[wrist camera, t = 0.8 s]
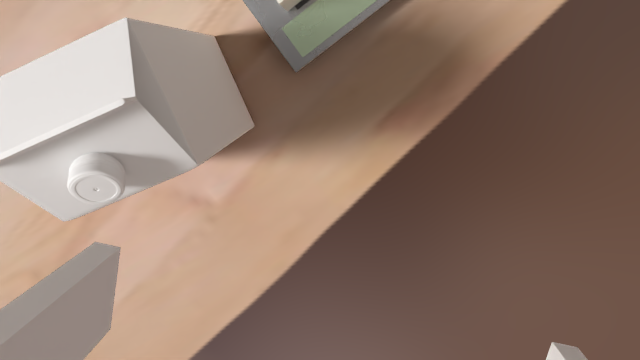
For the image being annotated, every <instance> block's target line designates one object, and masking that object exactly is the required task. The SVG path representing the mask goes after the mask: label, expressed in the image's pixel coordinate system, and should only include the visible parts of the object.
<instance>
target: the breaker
mask: <svg viewBox="0 0 640 360" xmlns="http://www.w3.org/2000/svg"><path fill="white" fill-rule="evenodd" d="M300 1H301V0H277V2H278V3H279V4H280V5H281V6H282V7H283V8H284V9H285V10H286V11H287V12H288V11H289V10H290V9H291V8H293V7H294V6H295V5H296V4H298V3H299V2H300Z"/></svg>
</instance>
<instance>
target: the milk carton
mask: <svg viewBox="0 0 640 360" xmlns="http://www.w3.org/2000/svg"><path fill="white" fill-rule="evenodd" d="M253 127H254V123H253V121H252V119H251V116H250V114H249V112H248V110H247V107H246V105H245V103H244V101H243V99H242V96H241V94H240V92H239V90H238V87H237V85H236V83H235V81H234V79H233V76H232V74H231V72H230V70H229V67H228V65H227V63H226V61H225V59H224V56H223V54H222V52H221V50H220V48H219V45H218V43H217V41H216V39H215V37H214V36H212V35H207V34H202V33H197V32H192V31H187V30H182V29H178V28H173V27H168V26H163V25H158V24H153V23H149V22H144V21H139V20H134V19H129V18H123V19H121V20H118V21H116V22H114V23H112V24H110V25H107V26H105V27H103V28H101V29H99V30H97V31H95V32H93V33H91V34H89V35H86V36H84V37H82V38H80V39H78V40H76V41H74V42H72V43H70V44H68V45H65V46H63V47H61V48H59V49H57V50H55V51H53V52H51V53H49V54H47V55H44V56H42V57H40V58H38V59H36V60H34V61H32V62H30V63H28V64H26V65H23V66H21V67H19V68H17V69H15V70H13V71H11V72H9V73H7V74H5V75H3V76H0V181H1V182H3V183H4V184H6V185H7V186H9V187H10V188H12V189H14V190H15V191H17V192H18V193H20V194H21V195H23V196H24V197H26V198H27V199H29V200H31V201H32V202H34V203H35V204H37V205H38V206H40V207H41V208H43V209H45V210H46V211H48V212H49V213H51V214H52V215H54V216H55V217H57V218H59V219H60V220H62V221H70V220H73V219H75V218H78V217H81V216H83V215H86V214H88V213H91V212H93V211H95V210H98V209H100V208H103V207H105V206H107V205H110V204H112V203H114V202H117V201H119V200H122V199H124V198H126V197H129V196H131V195H133V194H136V193H138V192H141V191H143V190H145V189H148V188H150V187H152V186H155V185H157V184H160V183H162V182H164V181H167V180H169V179H171V178H174V177H176V176H178V175H181V174H183V173H185V172H188V171H190V170H192V169H194V168H196V167H197V166H199V165H201V164H202V163H204V162H205V161H206V160H208V159H209V158H211V157H212V156H214V155H215V154H216V153H218V152H219V151H221V150H222V149H223V148H225V147H226V146H228V145H229V144H231V143H232V142H233V141H235V140H236V139H238V138H239V137H241V136H242V135H243V134H245V133H246V132H248V131H249V130H250V129H252V128H253Z"/></svg>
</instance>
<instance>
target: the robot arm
mask: <svg viewBox="0 0 640 360" xmlns="http://www.w3.org/2000/svg"><path fill="white" fill-rule="evenodd" d="M120 248H121V247H116V246H112V245H107V244H103V243H98V242H95V243H93V244H92V245H90V246H89V247H88V248H86V249H85V250H83V251H82V252H81V253H79V254H78V255H76V256H75V257H73V258H72V259H71V260H69V261H68V262H66V263H65V264H64V265H62V266H61V267H59V268H58V269H57V270H55V271H54V272H52V273H51V274H50V275H48V276H47V277H45V278H44V279H43V280H41V281H40V282H38V283H37V284H36V285H34V286H33V287H31V288H30V289H29V290H27V291H26V292H24V293H23V294H21V295H20V296H19V297H17V298H16V299H14V300H13V301H12V302H10V303H9V304H7V305H6V306H5V307H3V308H2V309H0V360H83V359H84V358H85V357H86V356H87V355H88V354H89V353H90V352H91V350H92V349H93V348H94V347H95V346H96V345H97V344H98V343H99V341H100V340H101V339H102V338H103V337H104V336H105V335H106V333H107V332H108V331H109V330H110V328H111V320H112V312H113V304H114V296H115V288H116V280H117V272H118V264H119V256H120ZM546 360H587V359H586V357H585V356H584V355H583V354H582V352H581V351H580V350H579V349H578V348H577V347H573V346H568V345H564V344H559V343H555V342H552V344H551V347H550V350H549V353H548V355H547V358H546Z"/></svg>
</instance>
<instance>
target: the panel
mask: <svg viewBox="0 0 640 360" xmlns="http://www.w3.org/2000/svg"><path fill="white" fill-rule="evenodd" d="M243 1H244V3H245V4H246V6H247V7H248V8H249V10H250V11H251V12H252V14H253V15H254V16H255V18H256V19H257V20H258V22H259V23H260V25H261V26H262V27H263V29H264V30H265V31H266V33H267V34H268V35H269V37H270V38H271V40H272V41H273V42H274V44H275V45H276V46H277V48H278V49H279V50H280V52H281V53H282V54H283V56H284V57H285V59H286V60H287V61H288V63H289V64H290V65H291V67H292V68H293V69H294V71H295V72H298V71H300V70H301V69H302V68H304V67H305V66H306V65H308V64H309V63H310V62H311V61H313V60H314V59H315V58H317V57H318V56H319V55H321V54H322V53H323V52H324V51H326V50H327V49H328V48H330V47H331V46H332V45H334V44H335V43H336V42H337V41H339V40H340V39H341V38H343V37H344V36H345V35H347V34H348V33H349V32H350V31H352V30H353V29H354V28H356V27H357V26H358V25H360V24H361V23H362V22H363V21H365V20H366V19H367V18H369V17H370V16H371V15H373V14H374V13H375V12H376V11H378V10H379V9H380V8H382V7H383V6H384V5H386V4H387V3H388V2H389V1H391V0H301V1H300V2H299V3H298V4H296V5H295V6H294V7H293V8H291V9H290V10H289V11H288V12H287V11H286V10H285V9H284V8H283V7H282V6H281V5H280V4H279V3H278V2H277V0H243Z"/></svg>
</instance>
